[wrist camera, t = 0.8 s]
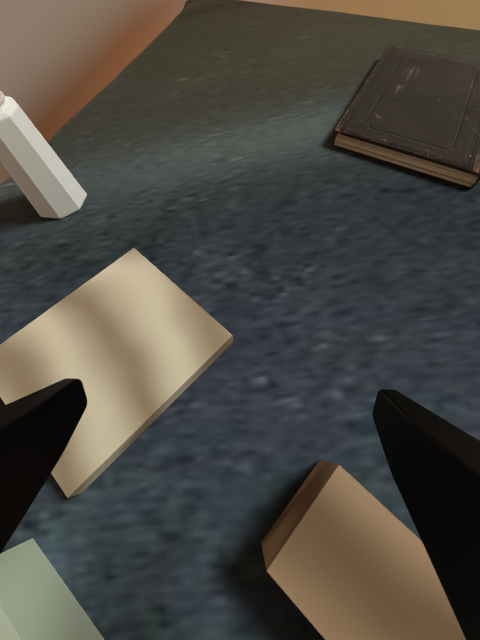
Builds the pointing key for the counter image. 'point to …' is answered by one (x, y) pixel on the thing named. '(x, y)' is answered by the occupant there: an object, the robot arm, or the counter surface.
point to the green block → (38, 600)
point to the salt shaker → (36, 165)
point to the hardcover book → (418, 115)
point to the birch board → (113, 359)
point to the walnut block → (355, 565)
